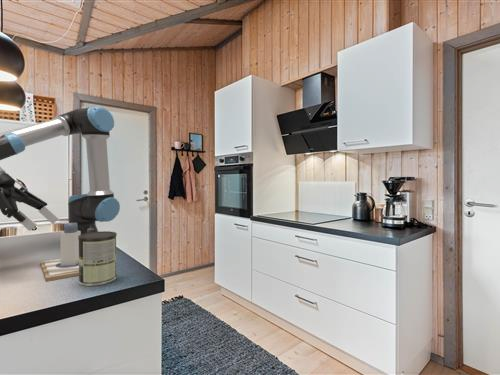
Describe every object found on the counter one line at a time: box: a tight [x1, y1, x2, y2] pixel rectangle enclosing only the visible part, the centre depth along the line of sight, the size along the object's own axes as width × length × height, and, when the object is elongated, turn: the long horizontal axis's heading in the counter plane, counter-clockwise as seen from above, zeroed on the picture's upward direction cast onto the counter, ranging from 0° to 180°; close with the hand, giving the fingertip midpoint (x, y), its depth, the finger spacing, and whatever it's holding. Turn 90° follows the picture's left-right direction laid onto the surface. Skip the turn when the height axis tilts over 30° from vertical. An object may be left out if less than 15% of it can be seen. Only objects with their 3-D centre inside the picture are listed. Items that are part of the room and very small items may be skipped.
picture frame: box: [39, 258, 79, 282], centre depth 98 cm, size 22×16×1 cm
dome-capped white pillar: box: [59, 222, 81, 266], centre depth 98 cm, size 4×4×14 cm
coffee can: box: [78, 230, 117, 287], centre depth 86 cm, size 10×10×14 cm
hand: (45, 224), depth 96 cm, fingers open, 13 cm apart
